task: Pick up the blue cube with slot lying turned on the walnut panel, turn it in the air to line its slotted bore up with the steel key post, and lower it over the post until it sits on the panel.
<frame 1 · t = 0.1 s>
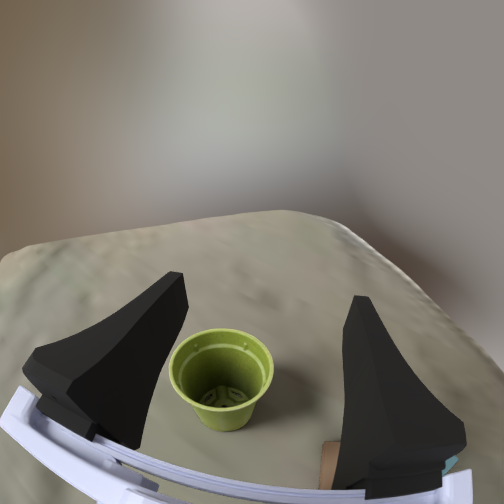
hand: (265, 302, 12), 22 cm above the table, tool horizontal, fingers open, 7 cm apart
plant pot: (225, 410, 29), on the table
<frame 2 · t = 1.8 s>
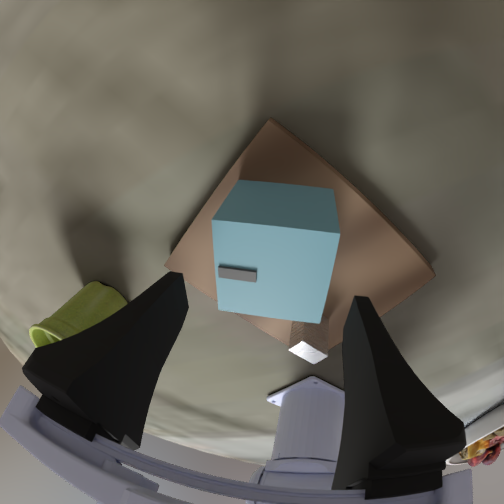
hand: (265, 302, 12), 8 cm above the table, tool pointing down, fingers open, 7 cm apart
panel: (299, 261, 20), on the table
blue cube with slot: (282, 225, 17), point 1 cm above the table, touching panel
plant pot: (110, 301, 28), on the table
key post: (311, 316, 21), resting on panel
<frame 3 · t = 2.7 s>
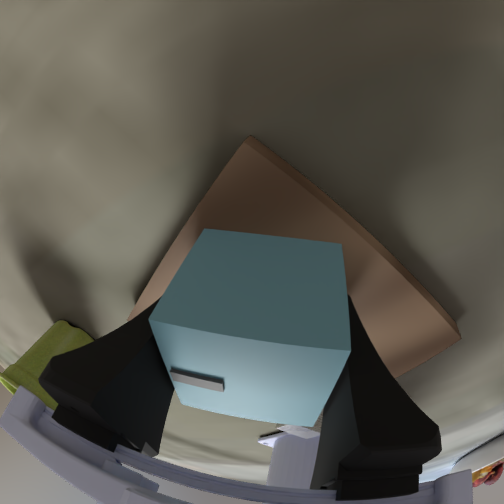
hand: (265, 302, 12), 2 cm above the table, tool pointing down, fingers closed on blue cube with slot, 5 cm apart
panel: (292, 323, 15), on the table
blue cube with slot: (268, 288, 13), point 1 cm above the table, touching gripper, panel
plant pot: (81, 340, 23), on the table
key post: (305, 381, 16), resting on panel
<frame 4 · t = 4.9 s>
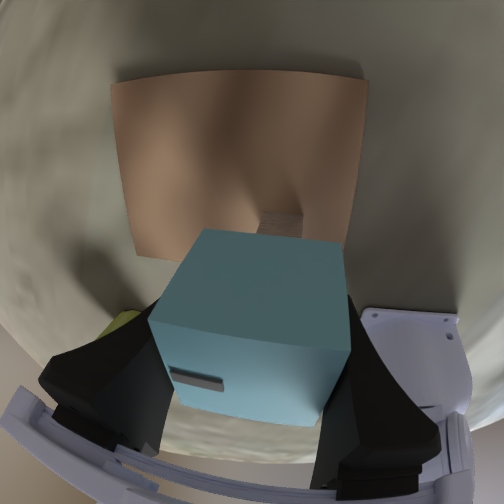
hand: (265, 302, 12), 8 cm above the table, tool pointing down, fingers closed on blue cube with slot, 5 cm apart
panel: (231, 173, 18), on the table
blue cube with slot: (268, 288, 13), point 7 cm above the table, touching gripper
plant pot: (143, 327, 29), on the table
key post: (282, 223, 17), resting on panel
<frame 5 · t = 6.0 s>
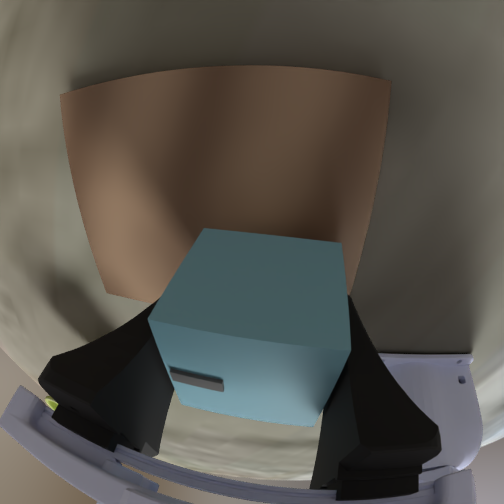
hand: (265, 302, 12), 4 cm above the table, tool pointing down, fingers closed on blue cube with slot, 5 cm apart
panel: (207, 203, 14), on the table
blue cube with slot: (268, 288, 13), point 3 cm above the table, touching gripper
when the fingers open (4 cm above the table, at t = 7.1 s): blue cube with slot drops 2 cm, resting on panel.
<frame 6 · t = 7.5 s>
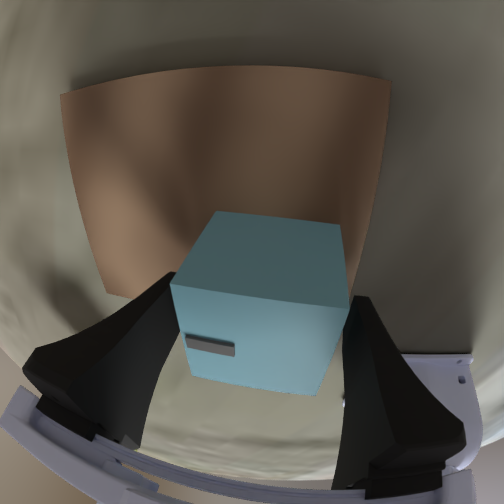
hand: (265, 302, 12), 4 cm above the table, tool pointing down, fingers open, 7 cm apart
panel: (207, 203, 14), on the table
blue cube with slot: (273, 267, 14), point 1 cm above the table, touching panel
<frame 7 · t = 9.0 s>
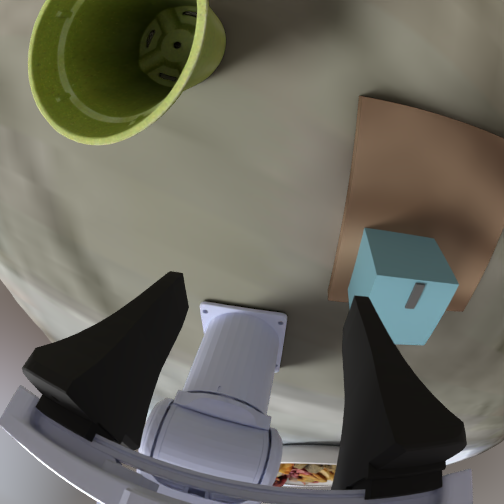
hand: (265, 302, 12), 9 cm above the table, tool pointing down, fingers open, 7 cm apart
panel: (429, 219, 18), on the table
bowl: (311, 457, 52), on the table
blue cube with slot: (390, 265, 19), point 1 cm above the table, touching panel
plant pot: (183, 46, 14), on the table
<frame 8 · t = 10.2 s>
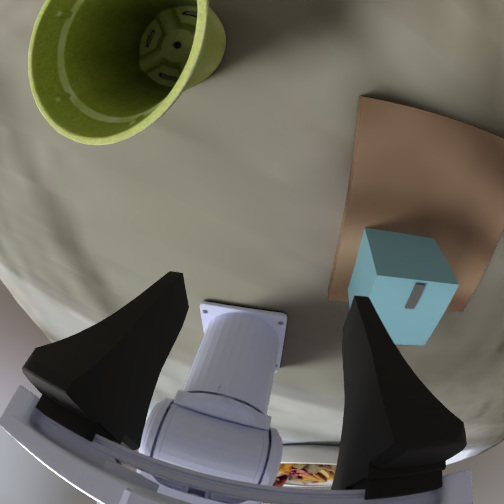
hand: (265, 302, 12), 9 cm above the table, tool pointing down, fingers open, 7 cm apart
panel: (429, 219, 18), on the table
bowl: (311, 457, 52), on the table
blue cube with slot: (390, 265, 19), point 1 cm above the table, touching panel
plant pot: (183, 46, 14), on the table
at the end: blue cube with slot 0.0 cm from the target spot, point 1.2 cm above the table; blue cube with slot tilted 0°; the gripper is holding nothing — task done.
